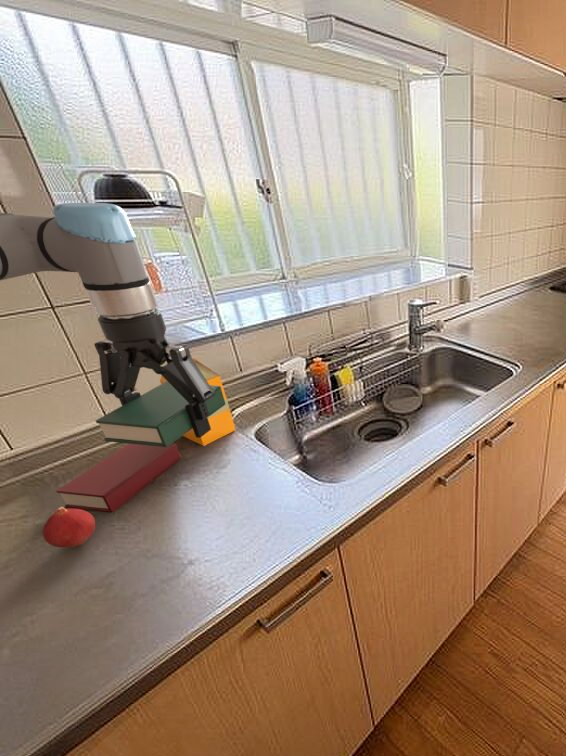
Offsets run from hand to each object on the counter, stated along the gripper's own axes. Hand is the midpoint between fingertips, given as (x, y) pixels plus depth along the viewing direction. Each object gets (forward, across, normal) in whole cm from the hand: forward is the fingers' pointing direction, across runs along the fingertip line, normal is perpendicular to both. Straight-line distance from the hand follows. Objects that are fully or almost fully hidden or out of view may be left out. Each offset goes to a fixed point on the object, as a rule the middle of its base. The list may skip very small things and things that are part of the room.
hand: (173, 430), depth 75 cm
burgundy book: (+14, +15, -1) cm, 21 cm away
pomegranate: (+15, +9, +14) cm, 22 cm away
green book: (-2, 0, 0) cm, 2 cm away
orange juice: (+15, +12, -19) cm, 27 cm away
